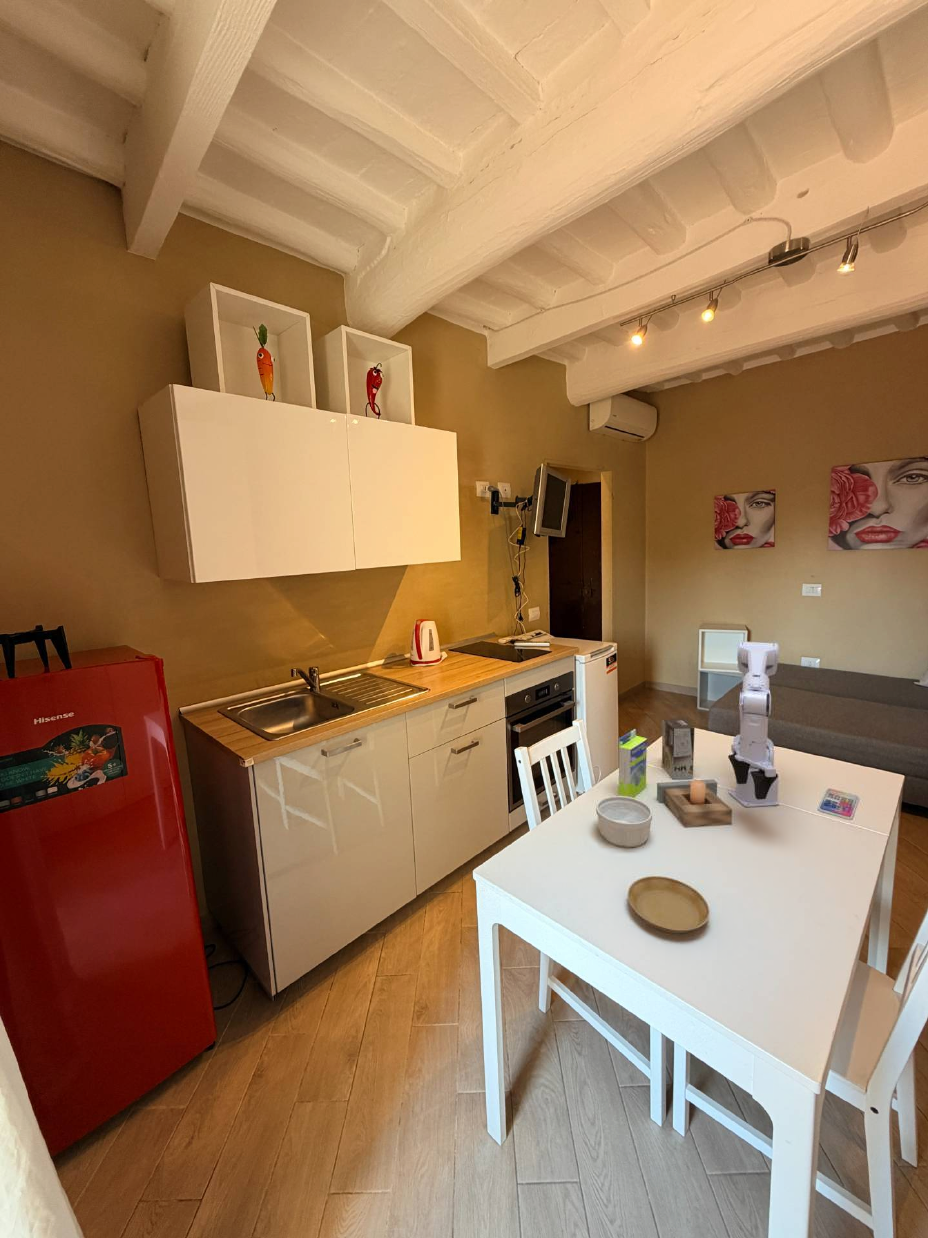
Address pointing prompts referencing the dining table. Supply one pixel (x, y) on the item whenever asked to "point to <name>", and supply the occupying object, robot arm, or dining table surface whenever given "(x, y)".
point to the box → (632, 764)
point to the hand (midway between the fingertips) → (750, 790)
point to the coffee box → (678, 748)
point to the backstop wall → (682, 784)
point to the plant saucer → (668, 904)
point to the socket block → (697, 808)
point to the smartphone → (839, 804)
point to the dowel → (697, 792)
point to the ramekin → (624, 820)
